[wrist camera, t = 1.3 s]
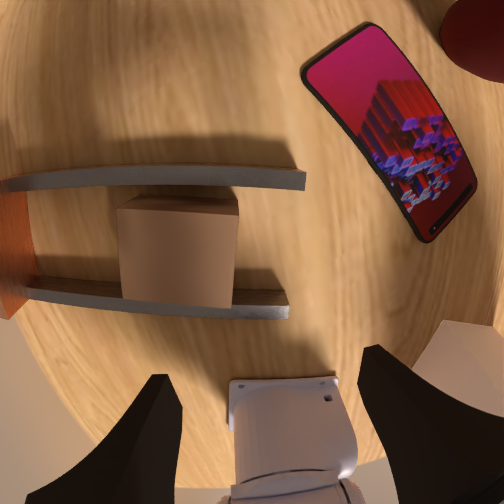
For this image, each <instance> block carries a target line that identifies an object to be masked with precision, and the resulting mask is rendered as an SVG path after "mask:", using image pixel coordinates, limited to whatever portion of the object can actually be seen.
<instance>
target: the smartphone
mask: <svg viewBox="0 0 504 504" xmlns="http://www.w3.org/2000/svg"><path fill="white" fill-rule="evenodd" d="M301 79H302V82H303V84H304V85H305V87H306V88H307V89H308V90H309V91H310V92H311V93H312V94H313V95H314V96H315V97H316V98H317V100H318V101H319V102H320V103H321V104H322V105H323V106H324V107H325V109H326V110H327V111H328V112H329V113H330V114H331V115H332V117H333V118H334V119H335V120H336V121H337V123H338V124H339V125H340V126H341V127H342V129H343V130H344V131H345V132H346V133H347V135H348V136H349V137H350V138H351V140H352V141H353V142H354V144H355V145H356V146H357V147H358V149H359V150H360V151H361V153H362V154H363V155H364V157H365V158H366V159H367V161H368V163H369V165H370V166H371V167H372V169H373V170H374V171H375V173H376V174H377V175H378V176H379V178H380V179H381V180H382V182H383V183H384V185H385V186H386V188H387V189H388V191H389V192H390V194H391V195H392V197H393V198H394V200H395V202H396V203H397V205H398V206H399V208H400V209H401V212H402V213H403V215H404V217H405V218H406V219H407V221H408V223H409V224H410V226H411V228H412V229H413V231H414V233H415V235H416V236H417V238H418V239H419V240H420V241H422V242H423V243H430V242H432V241H433V240H434V239H435V238H436V237H437V236H438V235H439V234H440V233H441V231H442V230H443V229H444V228H445V227H446V226H447V225H448V224H449V223H450V221H451V220H452V219H453V218H454V217H455V216H456V215H457V213H458V212H459V211H460V210H461V209H462V208H463V206H464V205H465V204H466V203H467V202H468V200H469V199H470V198H471V197H472V196H473V194H474V193H475V192H476V189H477V178H476V175H475V173H474V171H473V168H472V166H471V164H470V162H469V159H468V157H467V155H466V153H465V151H464V149H463V147H462V145H461V143H460V141H459V139H458V137H457V135H456V133H455V131H454V129H453V127H452V126H451V124H450V122H449V120H448V119H447V117H446V115H445V113H444V112H443V110H442V108H441V107H440V105H439V103H438V102H437V100H436V99H435V97H434V95H433V94H432V92H431V91H430V89H429V88H428V86H427V85H426V83H425V82H424V80H423V79H422V78H421V76H420V75H419V73H418V72H417V71H416V69H415V68H414V66H413V65H412V64H411V63H410V61H409V60H408V59H407V57H406V56H405V55H404V54H403V52H402V51H401V50H400V49H399V47H398V46H397V45H396V44H395V43H394V41H393V40H392V39H391V38H390V37H389V36H388V34H387V33H386V32H385V31H384V30H383V29H382V28H381V27H379V26H378V25H375V24H366V25H365V26H363V27H362V28H360V29H358V30H357V31H355V32H354V33H352V34H351V35H349V36H348V37H346V38H345V39H343V40H342V41H340V42H339V43H337V44H336V45H335V46H333V47H332V48H330V49H329V50H328V51H326V52H325V53H323V54H322V55H321V56H319V57H318V58H317V59H315V60H314V61H313V62H311V63H310V64H309V65H307V66H306V67H305V68H304V69H303V71H302V74H301Z"/></svg>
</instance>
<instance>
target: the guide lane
mask: <svg viewBox="0 0 504 504" xmlns="http://www.w3.org/2000/svg"><path fill="white" fill-rule="evenodd" d="M305 182H306V172H304V171H302V170H299V169H293V168H281V167H269V166H254V165H235V164H206V163H149V164H121V165H103V166H89V167H77V168H67V169H57V170H49V171H41V172H33V173H26V174H19V175H13V176H9V177H6V178H2V179H0V318H3V319H7V320H9V319H10V318H11V317H12V316H13V315H14V314H15V313H16V312H17V311H18V310H19V309H20V308H21V307H22V306H23V305H24V304H25V303H26V302H27V301H28V300H29V299H33V300H39V301H45V302H51V303H58V304H64V305H72V306H79V307H87V308H95V309H103V310H112V311H122V312H132V313H143V314H155V315H169V316H185V317H204V318H229V319H288V314H289V308H290V305H289V302H288V299H287V296H286V293H285V290H250V289H233V292H232V304H231V308H216V307H202V306H190V305H178V304H168V303H157V302H148V301H139V300H130V299H123V294H122V286H121V283H114V282H101V281H89V280H78V279H68V278H58V277H48V276H39V273H38V269H37V264H36V259H35V254H34V249H33V243H32V238H31V231H30V224H29V217H28V208H27V198H26V191H31V190H42V189H55V188H69V187H86V186H110V185H215V186H240V187H258V188H274V189H288V190H300V191H305Z"/></svg>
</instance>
